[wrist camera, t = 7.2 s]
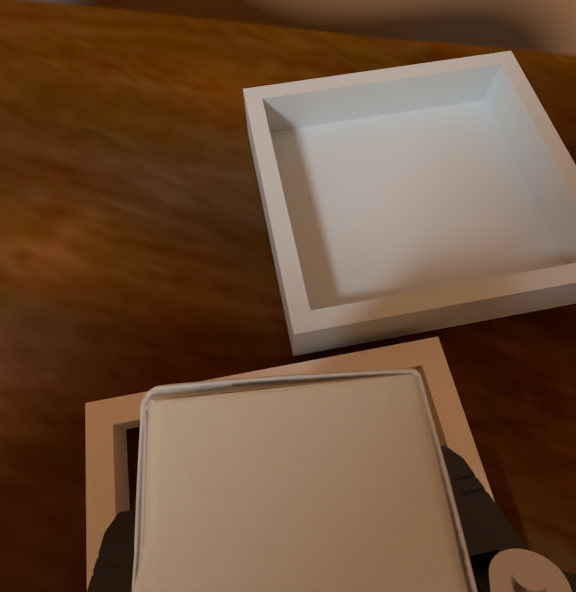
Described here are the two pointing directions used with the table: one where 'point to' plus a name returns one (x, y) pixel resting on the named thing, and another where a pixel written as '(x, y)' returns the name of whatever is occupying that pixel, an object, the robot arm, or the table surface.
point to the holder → (126, 409)
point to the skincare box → (296, 487)
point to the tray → (412, 199)
